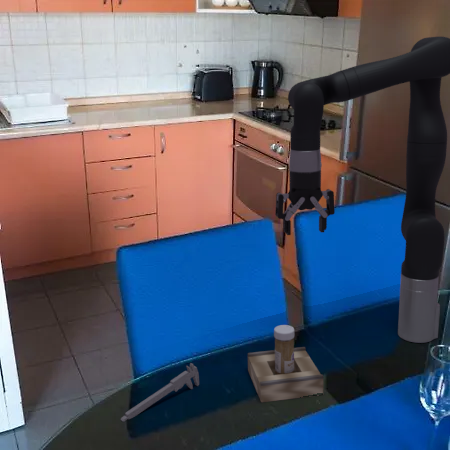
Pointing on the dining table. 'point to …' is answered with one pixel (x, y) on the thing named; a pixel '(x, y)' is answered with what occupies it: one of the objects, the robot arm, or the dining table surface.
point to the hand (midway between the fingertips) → (304, 233)
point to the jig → (284, 376)
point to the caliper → (166, 391)
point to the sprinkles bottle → (284, 349)
